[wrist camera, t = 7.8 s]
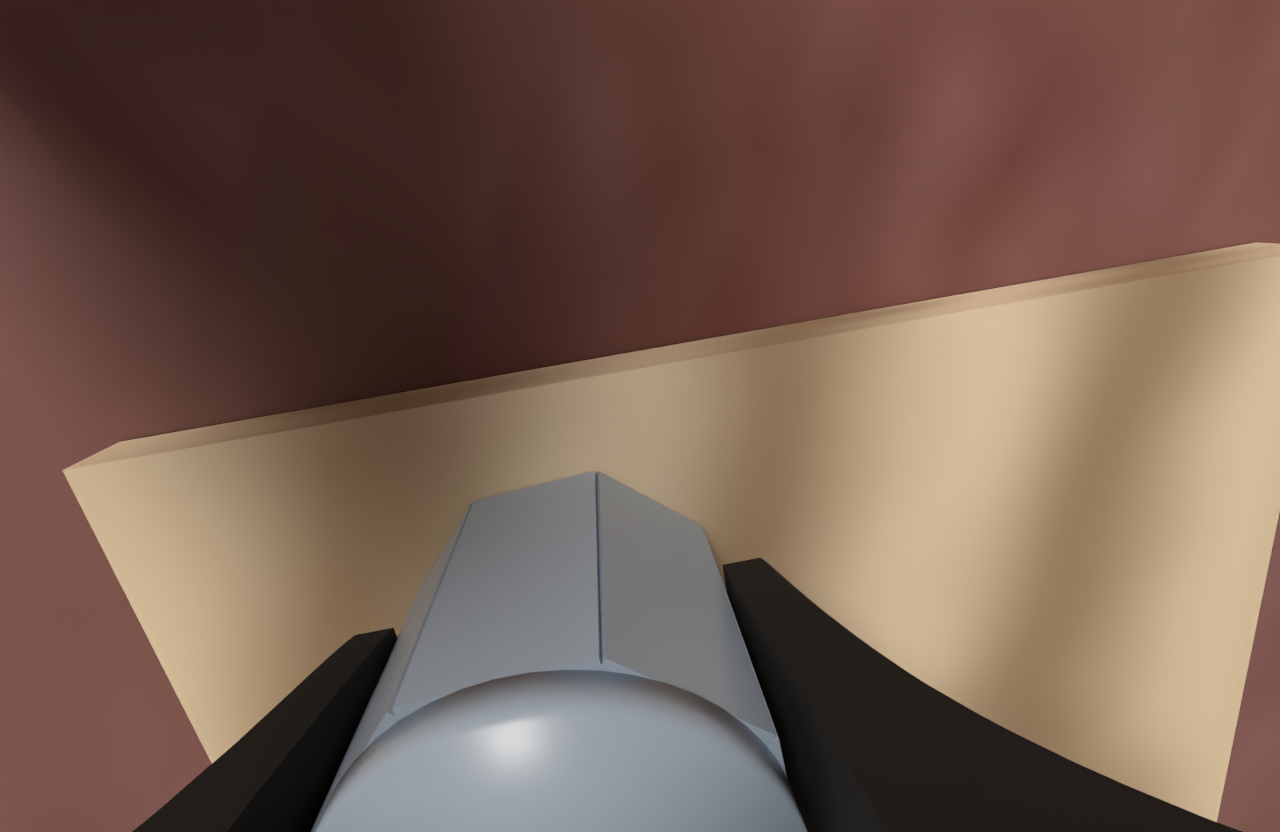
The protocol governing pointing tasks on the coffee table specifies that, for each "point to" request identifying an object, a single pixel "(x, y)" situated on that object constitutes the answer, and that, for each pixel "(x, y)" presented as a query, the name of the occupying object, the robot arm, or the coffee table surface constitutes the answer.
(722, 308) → the coffee table surface
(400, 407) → the board
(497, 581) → the cap
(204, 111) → the coffee table surface
